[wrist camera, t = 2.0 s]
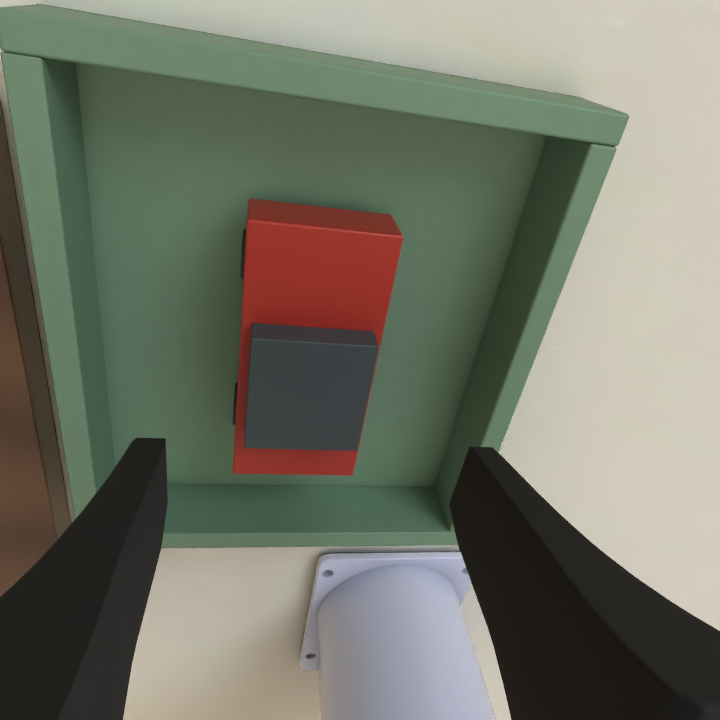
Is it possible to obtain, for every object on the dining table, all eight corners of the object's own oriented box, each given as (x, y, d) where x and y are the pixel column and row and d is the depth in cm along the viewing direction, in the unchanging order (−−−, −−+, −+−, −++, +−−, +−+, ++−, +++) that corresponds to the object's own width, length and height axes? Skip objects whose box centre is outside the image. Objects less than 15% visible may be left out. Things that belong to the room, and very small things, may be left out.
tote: (444, 494, 25) (462, 545, 23) (98, 491, 22) (79, 549, 20) (580, 97, 16) (631, 115, 14) (38, 3, 13) (-8, 6, 11)
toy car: (347, 430, 22) (359, 495, 19) (232, 427, 21) (228, 494, 18) (390, 206, 17) (415, 249, 14) (245, 189, 16) (241, 231, 13)
